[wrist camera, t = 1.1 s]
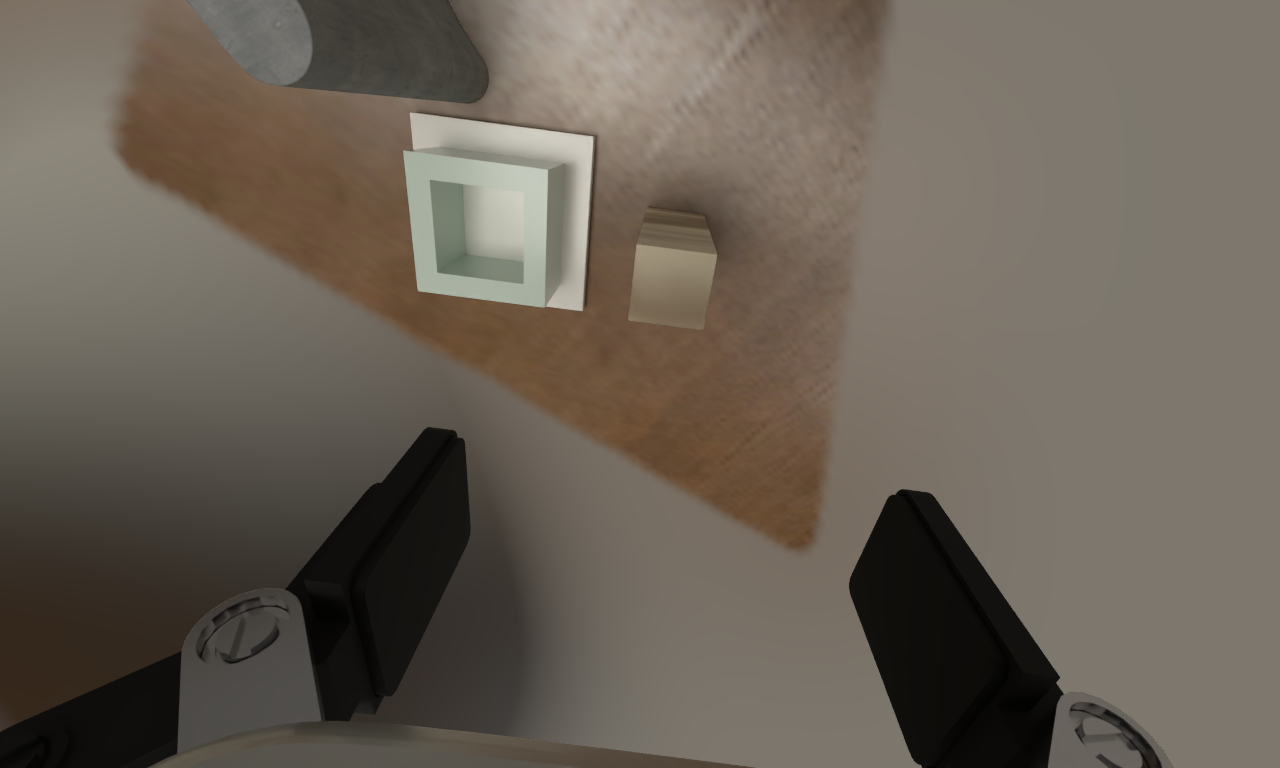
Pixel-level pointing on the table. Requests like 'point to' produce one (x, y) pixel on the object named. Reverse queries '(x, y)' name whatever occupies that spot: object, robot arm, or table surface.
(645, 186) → the table surface
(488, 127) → the socket holder
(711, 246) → the beech peg
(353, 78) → the hip flask
